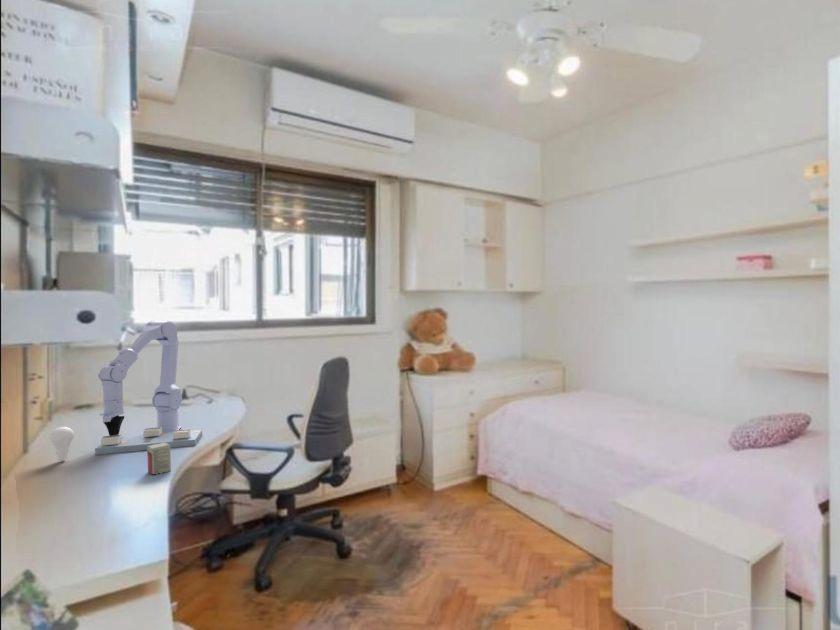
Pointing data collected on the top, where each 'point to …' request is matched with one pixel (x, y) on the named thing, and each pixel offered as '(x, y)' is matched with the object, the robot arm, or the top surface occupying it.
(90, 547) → the top surface
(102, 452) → the switch unit
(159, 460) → the small box
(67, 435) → the lightbulb
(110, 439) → the knob
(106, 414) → the robot arm
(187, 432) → the knob
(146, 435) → the knob
